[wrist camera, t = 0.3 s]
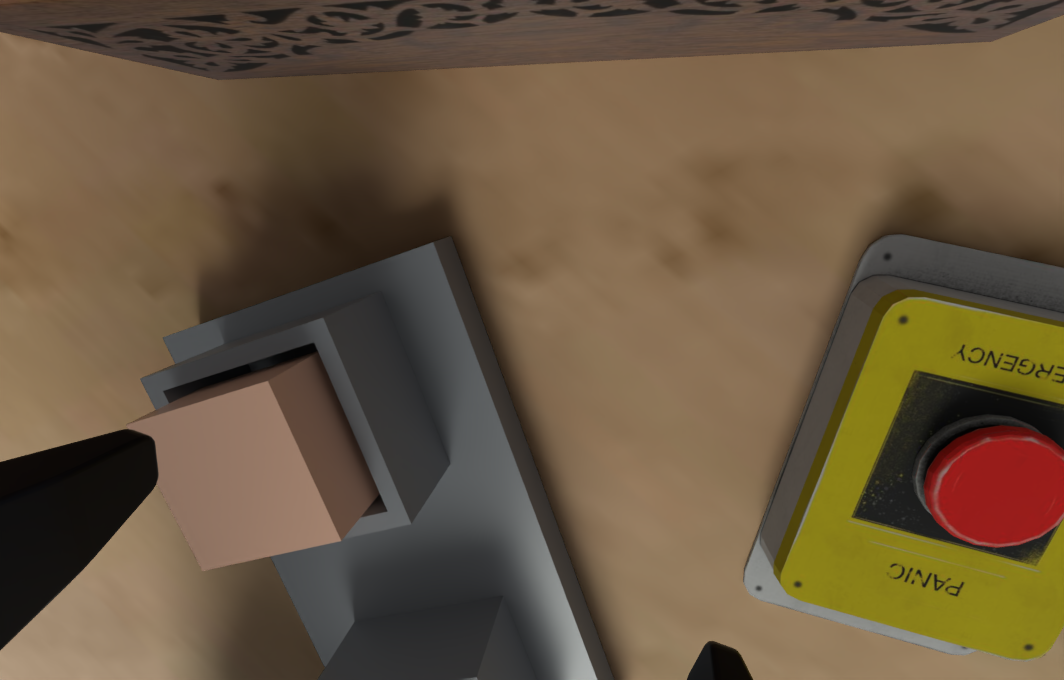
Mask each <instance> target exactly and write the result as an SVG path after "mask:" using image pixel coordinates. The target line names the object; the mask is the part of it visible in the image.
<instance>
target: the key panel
mask: <svg viewBox="0 0 1064 680" xmlns="http://www.w3.org/2000/svg"><path fill="white" fill-rule="evenodd" d="M163 340H164V342H165V344H166V346H167V348H168V350H169V352H170V354H171V356H172V358H173V360H174V362H175V364H174V365H172V366H170V367H167V368H165V369H162V370H160V371H157V372H155V373H153V374H150V375H148V376H145V377H143V378H141V379H140V380H141V382H142V384H143V386H144V388H145V390H146V392H147V394H148V395H149V397H150V399H151V401H152V403H153V405H154V407H155V409H156V410H157V409H159V408H161V407H163V406H165V405H167V404H169V403H171V402H173V401H176V400H178V399H180V398H182V397H184V396H186V395H188V394H190V393H192V392H194V391H196V390H198V389H200V388H203V387H206V386H209V385H212V384H215V383H219V382H222V381H225V380H228V379H231V378H234V377H237V376H241V375H244V374H247V373H250V372H253V371H256V370H260V369H263V368H266V367H269V366H272V365H275V364H278V363H282V362H285V361H288V360H291V359H294V358H297V357H300V356H304V355H307V354H310V353H313V352H316V351H318V352H319V355H320V357H321V359H322V362H323V364H324V366H325V368H326V371H327V373H328V375H329V378H330V380H331V382H332V385H333V387H334V389H335V391H336V394H337V396H338V398H339V401H340V403H341V405H342V408H343V410H344V412H345V414H346V417H347V419H348V421H349V424H350V426H351V428H352V431H353V433H354V435H355V437H356V440H357V442H358V444H359V447H360V449H361V451H362V454H363V456H364V458H365V460H366V463H367V465H368V467H369V470H370V472H371V474H372V477H373V479H374V481H375V483H376V486H377V488H378V490H379V493H380V494H379V495H378V496H377V498H376V499H375V500H374V501H373V502H372V504H371V505H370V506H369V507H368V509H367V510H366V511H365V512H364V514H363V515H362V516H361V517H360V519H359V520H358V521H357V522H356V523H355V525H354V526H353V527H352V528H351V530H350V531H349V532H348V533H347V535H346V536H345V537H344V538H343V539H342V541H339V542H334V543H330V544H325V545H320V546H316V547H311V548H307V549H302V550H297V551H293V552H288V553H284V554H279V555H274V556H270V557H271V559H272V561H273V563H274V565H275V567H276V569H277V571H278V573H279V575H280V577H281V579H282V581H283V583H284V586H285V588H286V590H287V592H288V594H289V596H290V598H291V600H292V602H293V604H294V606H295V608H296V610H297V612H298V614H299V616H300V618H301V620H302V622H303V624H304V626H305V628H306V630H307V632H308V634H309V636H310V638H311V640H312V642H313V644H314V646H315V649H316V651H317V653H318V655H319V657H320V659H321V661H322V663H323V665H324V667H325V669H324V670H323V672H322V673H321V675H320V677H319V678H318V680H614V678H613V675H612V672H611V670H610V667H609V664H608V661H607V659H606V656H605V653H604V651H603V648H602V645H601V642H600V640H599V637H598V634H597V632H596V629H595V626H594V623H593V621H592V618H591V615H590V612H589V610H588V607H587V604H586V602H585V599H584V596H583V593H582V591H581V588H580V585H579V583H578V580H577V577H576V574H575V572H574V569H573V566H572V563H571V561H570V558H569V555H568V553H567V550H566V547H565V544H564V542H563V539H562V536H561V534H560V531H559V528H558V525H557V523H556V520H555V517H554V515H553V512H552V509H551V506H550V504H549V501H548V498H547V495H546V493H545V490H544V487H543V485H542V482H541V479H540V476H539V474H538V471H537V468H536V466H535V463H534V460H533V457H532V455H531V452H530V449H529V446H528V444H527V441H526V438H525V436H524V433H523V430H522V427H521V425H520V422H519V419H518V417H517V414H516V411H515V408H514V406H513V403H512V400H511V397H510V395H509V392H508V389H507V387H506V384H505V381H504V378H503V376H502V373H501V370H500V368H499V365H498V362H497V359H496V357H495V354H494V351H493V349H492V346H491V343H490V340H489V338H488V335H487V332H486V329H485V327H484V324H483V321H482V319H481V316H480V313H479V310H478V308H477V305H476V302H475V300H474V297H473V294H472V291H471V289H470V286H469V283H468V280H467V278H466V275H465V272H464V270H463V267H462V264H461V261H460V259H459V256H458V253H457V251H456V248H455V245H454V242H453V240H452V237H451V236H450V237H447V238H444V239H441V240H438V241H435V242H432V243H429V244H427V245H424V246H421V247H418V248H415V249H412V250H410V251H407V252H404V253H401V254H398V255H395V256H393V257H390V258H387V259H384V260H381V261H378V262H376V263H373V264H370V265H367V266H364V267H361V268H359V269H356V270H353V271H350V272H347V273H344V274H342V275H339V276H336V277H333V278H330V279H327V280H325V281H322V282H319V283H316V284H313V285H310V286H308V287H305V288H302V289H299V290H296V291H293V292H290V293H288V294H285V295H282V296H279V297H276V298H273V299H271V300H268V301H265V302H262V303H259V304H256V305H254V306H251V307H248V308H245V309H242V310H239V311H237V312H234V313H231V314H228V315H225V316H222V317H220V318H217V319H214V320H211V321H208V322H205V323H203V324H200V325H197V326H194V327H191V328H188V329H186V330H183V331H180V332H177V333H174V334H171V335H169V336H166V337H163Z"/></svg>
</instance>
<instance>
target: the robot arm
mask: <svg viewBox="0 0 1064 680" xmlns="http://www.w3.org/2000/svg"><path fill="white" fill-rule="evenodd" d="M158 476H159V472H158V463H157V454H156V445H155V441H154V439H153V438H152V437H151V436H149V435H146V434H143V433H141V432H138V431H135V430H131V429H124V430H119V431H116V432H112V433H108V434H104V435H100V436H97V437H93V438H89V439H85V440H82V441H78V442H74V443H70V444H67V445H63V446H59V447H55V448H51V449H48V450H44V451H40V452H36V453H33V454H29V455H25V456H21V457H17V458H14V459H10V460H6V461H2V462H0V650H1V649H2V648H3V647H4V646H5V645H6V644H7V643H8V642H10V641H11V640H12V639H13V638H14V637H15V636H16V635H17V634H18V633H19V632H20V631H21V630H22V629H23V628H24V627H25V626H26V625H27V624H28V623H29V622H30V621H31V620H32V619H33V618H34V617H35V616H36V615H37V614H38V613H39V612H40V611H42V610H43V609H44V608H45V607H46V606H47V605H48V604H49V603H50V602H51V601H52V600H53V599H54V598H55V597H56V596H57V595H58V594H59V593H60V592H61V591H62V590H63V589H64V588H65V587H66V586H67V585H68V584H69V583H70V582H71V581H72V580H73V579H74V578H75V577H76V576H77V575H78V574H79V573H80V572H81V571H82V570H83V569H84V568H85V567H86V566H87V565H88V564H89V562H90V561H91V560H92V559H93V558H94V557H95V556H96V555H97V554H98V552H99V551H100V550H101V549H102V548H103V547H104V546H105V544H106V543H107V542H108V541H109V540H110V539H111V537H112V536H113V535H114V534H115V533H116V532H117V531H118V529H119V528H120V527H121V526H122V525H123V524H124V522H125V521H126V520H127V519H128V518H129V517H130V516H131V514H132V513H133V512H134V511H135V510H136V509H137V508H138V506H139V505H140V504H141V503H142V502H143V501H144V499H145V498H146V497H147V496H148V495H149V494H150V493H151V491H152V490H153V489H154V487H155V485H156V483H157V481H158ZM687 680H753V678H752V676H751V674H750V672H749V670H748V668H747V666H746V664H745V662H744V660H743V658H742V657H741V655H740V654H739V652H738V651H737V650H735V649H733V648H731V647H728V646H726V645H723V644H720V643H717V642H715V641H709V642H708V643H706V644H705V646H704V648H703V649H702V651H701V653H700V655H699V657H698V658H697V660H696V662H695V664H694V666H693V668H692V669H691V671H690V673H689V675H688V678H687Z"/></svg>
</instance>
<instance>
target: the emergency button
mask: <svg viewBox="0 0 1064 680" xmlns="http://www.w3.org/2000/svg"><path fill="white" fill-rule="evenodd" d="M743 582H744V585H745V586H746V588H747V590H748V592H749V594H750V595H752V596H754V597H755V598H757V599H759V600H761V601H764V602H768V603H771V604H775V605H778V606H782V607H786V608H789V609H793V610H796V611H800V612H803V613H807V614H810V615H814V616H817V617H821V618H824V619H828V620H831V621H835V622H838V623H842V624H845V625H849V626H852V627H856V628H859V629H863V630H866V631H870V632H874V633H877V634H881V635H884V636H888V637H891V638H895V639H898V640H902V641H905V642H909V643H912V644H916V645H919V646H923V647H926V648H930V649H933V650H937V651H940V652H944V653H947V654H951V655H967V654H970V653H972V652H975V651H980V652H984V653H987V654H991V655H995V656H998V657H1002V658H1005V659H1009V660H1016V661H1030V660H1034V659H1037V658H1041V657H1042V656H1043V655H1044V654H1045V653H1047V652H1048V651H1049V650H1050V649H1051V647H1052V646H1053V644H1054V642H1055V641H1056V639H1057V637H1058V636H1059V634H1060V632H1061V631H1062V629H1063V627H1064V268H1062V267H1058V266H1053V265H1048V264H1043V263H1038V262H1034V261H1029V260H1024V259H1019V258H1014V257H1010V256H1005V255H1000V254H995V253H990V252H986V251H981V250H976V249H971V248H966V247H962V246H957V245H952V244H947V243H942V242H938V241H933V240H928V239H923V238H918V237H914V236H909V235H904V234H895V235H885V236H883V237H881V238H880V239H878V240H877V241H875V242H873V243H872V244H870V245H869V247H868V248H867V250H866V251H865V253H864V254H863V256H862V257H861V259H860V260H859V263H858V266H857V268H856V271H855V274H854V276H853V279H852V282H851V284H850V287H849V290H848V292H847V295H846V298H845V300H844V303H843V306H842V308H841V311H840V314H839V316H838V319H837V322H836V325H835V327H834V330H833V333H832V335H831V338H830V341H829V343H828V346H827V349H826V351H825V354H824V357H823V359H822V362H821V365H820V367H819V370H818V373H817V375H816V378H815V381H814V383H813V386H812V389H811V391H810V394H809V397H808V399H807V402H806V405H805V407H804V410H803V413H802V415H801V418H800V421H799V424H798V426H797V429H796V432H795V434H794V437H793V440H792V442H791V445H790V448H789V450H788V453H787V456H786V458H785V461H784V464H783V466H782V469H781V472H780V474H779V477H778V480H777V482H776V485H775V488H774V490H773V493H772V496H771V498H770V501H769V504H768V506H767V509H766V512H765V514H764V517H763V520H762V522H761V525H760V528H759V531H758V533H757V536H756V539H755V541H754V544H753V547H752V549H751V552H750V555H749V557H748V560H747V563H746V565H745V568H744V577H743Z"/></svg>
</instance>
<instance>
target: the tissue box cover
mask: <svg viewBox="0 0 1064 680" xmlns="http://www.w3.org/2000/svg"><path fill="white" fill-rule="evenodd" d="M1061 15H1064V0H0V32H3V33H8V34H12V35H17V36H22V37H26V38H31V39H35V40H40V41H44V42H49V43H53V44H58V45H62V46H67V47H72V48H76V49H81V50H85V51H90V52H94V53H99V54H103V55H108V56H112V57H117V58H121V59H126V60H131V61H135V62H140V63H144V64H149V65H153V66H158V67H162V68H167V69H171V70H176V71H181V72H185V73H190V74H194V75H199V76H203V77H208V78H212V79H217V80H226V79H247V78H267V77H287V76H307V75H327V74H347V73H367V72H388V71H408V70H428V69H448V68H468V67H488V66H509V65H529V64H549V63H569V62H589V61H609V60H630V59H650V58H670V57H690V56H710V55H730V54H750V53H771V52H791V51H811V50H831V49H851V48H871V47H892V46H912V45H932V44H952V43H972V42H992V41H994V40H997V39H1000V38H1002V37H1005V36H1008V35H1010V34H1013V33H1016V32H1018V31H1021V30H1024V29H1027V28H1029V27H1032V26H1035V25H1037V24H1040V23H1043V22H1045V21H1048V20H1051V19H1053V18H1056V17H1059V16H1061Z"/></svg>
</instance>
